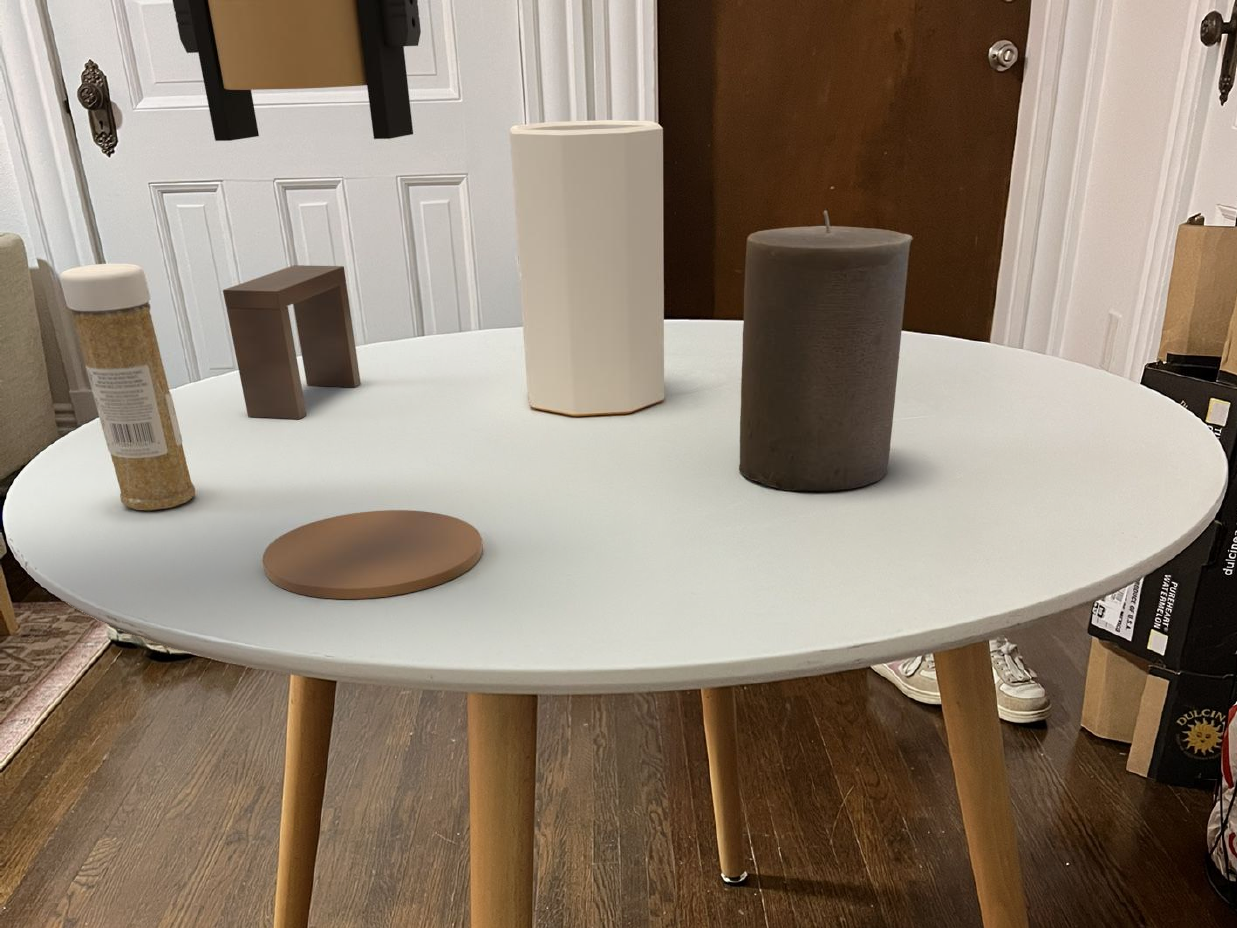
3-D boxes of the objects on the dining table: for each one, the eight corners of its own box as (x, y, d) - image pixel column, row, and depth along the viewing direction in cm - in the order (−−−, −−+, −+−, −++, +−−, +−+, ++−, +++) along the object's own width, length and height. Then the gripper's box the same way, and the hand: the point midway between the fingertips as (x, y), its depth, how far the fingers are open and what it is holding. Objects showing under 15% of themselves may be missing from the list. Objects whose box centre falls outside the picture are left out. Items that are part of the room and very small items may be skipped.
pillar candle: (752, 496, 72) (762, 224, 64) (728, 450, 81) (734, 203, 72) (907, 489, 73) (937, 218, 65) (868, 444, 81) (890, 197, 73)
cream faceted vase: (501, 394, 95) (479, 125, 84) (622, 374, 99) (615, 117, 89) (564, 425, 87) (549, 133, 76) (692, 403, 91) (694, 123, 81)
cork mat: (222, 589, 62) (220, 578, 62) (325, 514, 72) (323, 504, 71) (434, 607, 60) (433, 596, 59) (511, 526, 69) (510, 516, 69)
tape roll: (193, 92, 51) (164, -56, 48) (273, 85, 57) (252, -47, 54) (345, 89, 49) (324, -64, 47) (412, 82, 55) (397, -54, 52)
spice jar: (209, 491, 76) (158, 261, 68) (172, 514, 72) (113, 274, 65) (146, 487, 77) (88, 260, 69) (105, 510, 73) (40, 273, 65)
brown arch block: (247, 416, 91) (222, 289, 86) (313, 382, 99) (293, 265, 94) (299, 419, 90) (277, 291, 85) (361, 384, 98) (344, 265, 93)
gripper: (505, -619, 42) (547, 128, 55) (23, -541, 46) (167, 133, 59) (425, -725, 36) (492, 141, 49) (-120, -625, 40) (74, 146, 53)
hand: (314, 136), depth 54 cm, fingers closed on tape roll, 7 cm apart
